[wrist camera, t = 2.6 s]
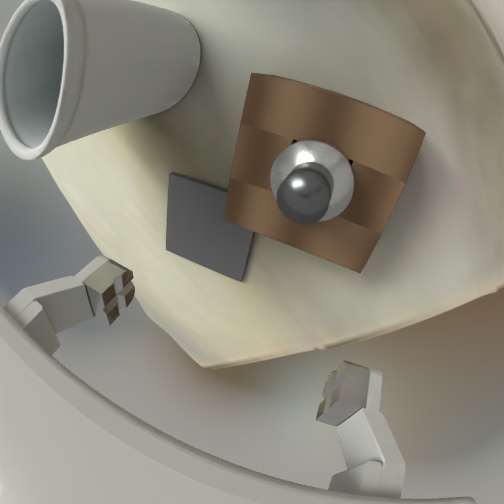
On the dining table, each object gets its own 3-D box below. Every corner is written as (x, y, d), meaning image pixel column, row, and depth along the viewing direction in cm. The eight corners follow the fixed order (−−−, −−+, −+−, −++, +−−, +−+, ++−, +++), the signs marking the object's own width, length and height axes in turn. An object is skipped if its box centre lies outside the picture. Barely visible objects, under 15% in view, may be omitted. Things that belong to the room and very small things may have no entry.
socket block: (412, 123, 22) (425, 132, 17) (362, 241, 30) (360, 273, 25) (273, 75, 24) (251, 72, 19) (245, 196, 32) (222, 219, 28)
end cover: (364, 146, 23) (366, 174, 16) (342, 206, 27) (331, 256, 20) (296, 121, 24) (266, 138, 17) (279, 183, 28) (247, 223, 21)
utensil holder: (105, 29, 25) (-11, 43, 11) (199, -12, 20) (68, -47, 6) (119, 125, 33) (7, 171, 19) (214, 105, 28) (82, 143, 14)
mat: (261, 202, 32) (260, 204, 31) (242, 279, 39) (240, 282, 39) (172, 172, 34) (169, 173, 33) (168, 247, 41) (166, 249, 41)
